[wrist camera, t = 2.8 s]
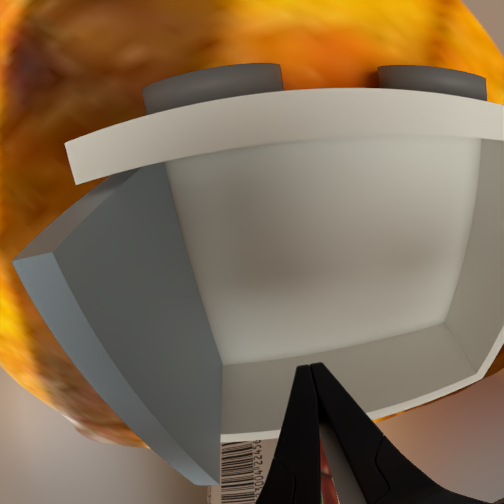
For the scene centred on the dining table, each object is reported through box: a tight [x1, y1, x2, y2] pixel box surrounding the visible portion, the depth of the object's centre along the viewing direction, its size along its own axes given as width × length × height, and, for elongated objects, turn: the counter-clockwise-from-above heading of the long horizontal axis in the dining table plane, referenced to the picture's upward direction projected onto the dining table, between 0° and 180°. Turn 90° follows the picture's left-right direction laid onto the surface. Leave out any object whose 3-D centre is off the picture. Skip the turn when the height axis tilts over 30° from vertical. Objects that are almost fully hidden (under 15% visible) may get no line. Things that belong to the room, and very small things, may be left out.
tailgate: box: [12, 162, 223, 485], centre depth 11 cm, size 2×13×8 cm, turn 8°
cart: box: [65, 63, 504, 443], centre depth 14 cm, size 18×18×10 cm
